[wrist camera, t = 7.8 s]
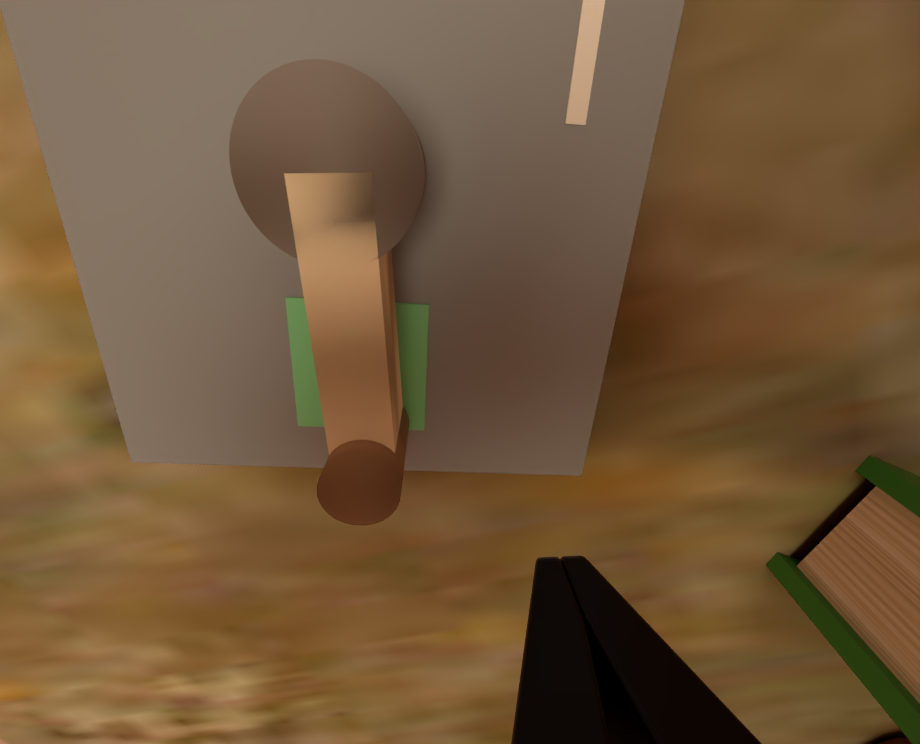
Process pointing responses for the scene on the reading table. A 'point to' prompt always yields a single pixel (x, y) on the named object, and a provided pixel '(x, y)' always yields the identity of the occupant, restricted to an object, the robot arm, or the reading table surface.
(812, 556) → the hardback book
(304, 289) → the lever
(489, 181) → the dial plate
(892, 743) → the wooden figurine
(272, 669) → the reading table surface
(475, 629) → the reading table surface
